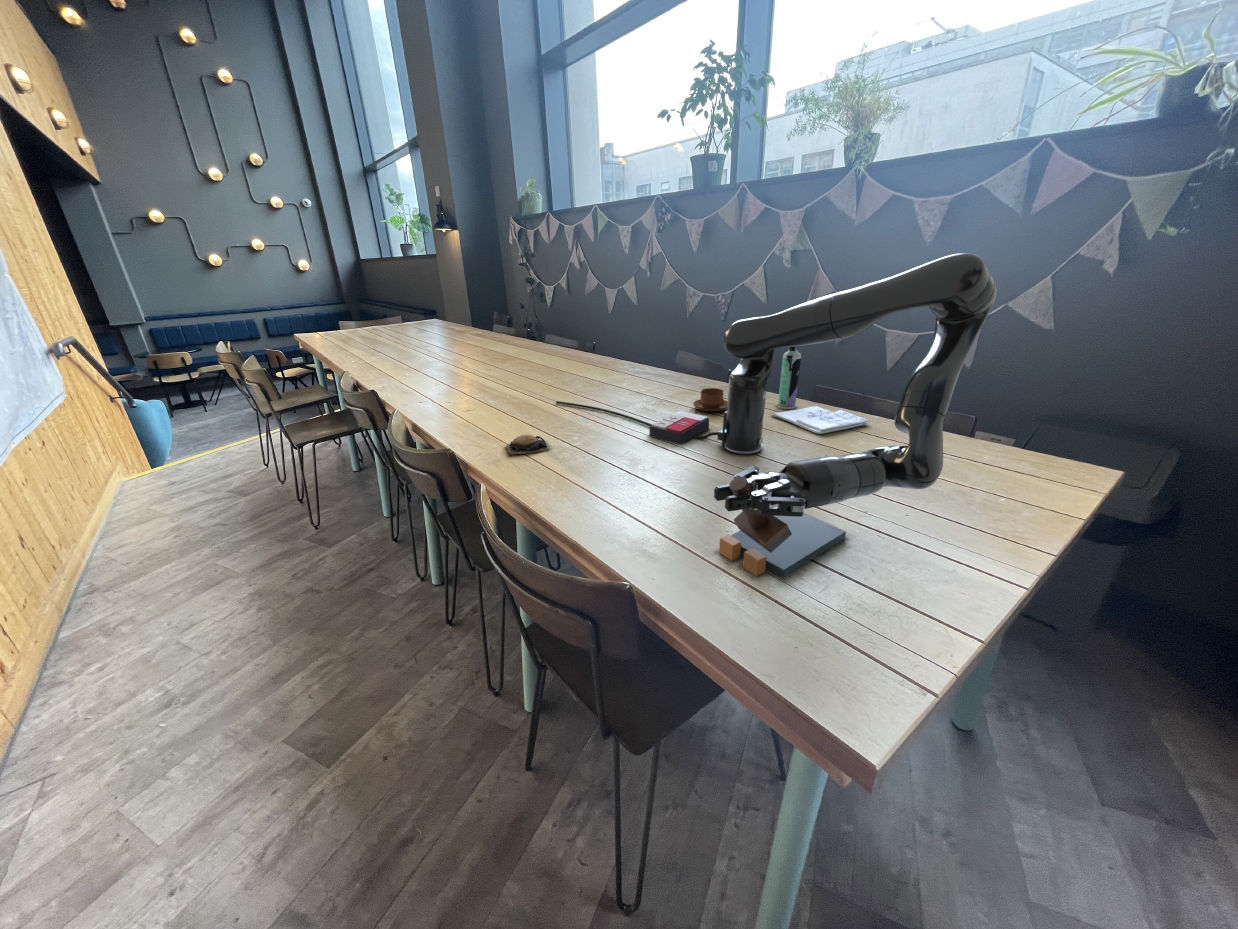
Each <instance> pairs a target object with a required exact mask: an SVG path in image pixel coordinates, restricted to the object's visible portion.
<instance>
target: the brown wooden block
mask: <svg viewBox="0 0 1238 929" xmlns="http://www.w3.org/2000/svg"><path fill="white" fill-rule="evenodd" d="M730 535H731V534H726V535H723V536H721V537H720V538H719V547H718V548H719V549H718V553H719V554H721V555H722V556H723V557H725V558H727V559H728V560H730V561H731V562H732V561H734V560H736V559H739V558H741V554H740V551H741V542H740V541H739V540H737V539H735V538H734V537H732V536H730Z"/></svg>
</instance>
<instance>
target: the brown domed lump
mask: <svg viewBox="0 0 1238 929" xmlns="http://www.w3.org/2000/svg"><path fill="white" fill-rule="evenodd" d="M506 449H507V452H508V455H510V456H511V455H512V456H513V455H524V454H532V453H539V452H545V451H549V447H548V446H547V442H546V440H545V438H543V437H541V436H539V435H536V436H534V435H531V434H521V435H518V436H517V437H515V438H513V440H512V441H510V443H507V444H506Z"/></svg>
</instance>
